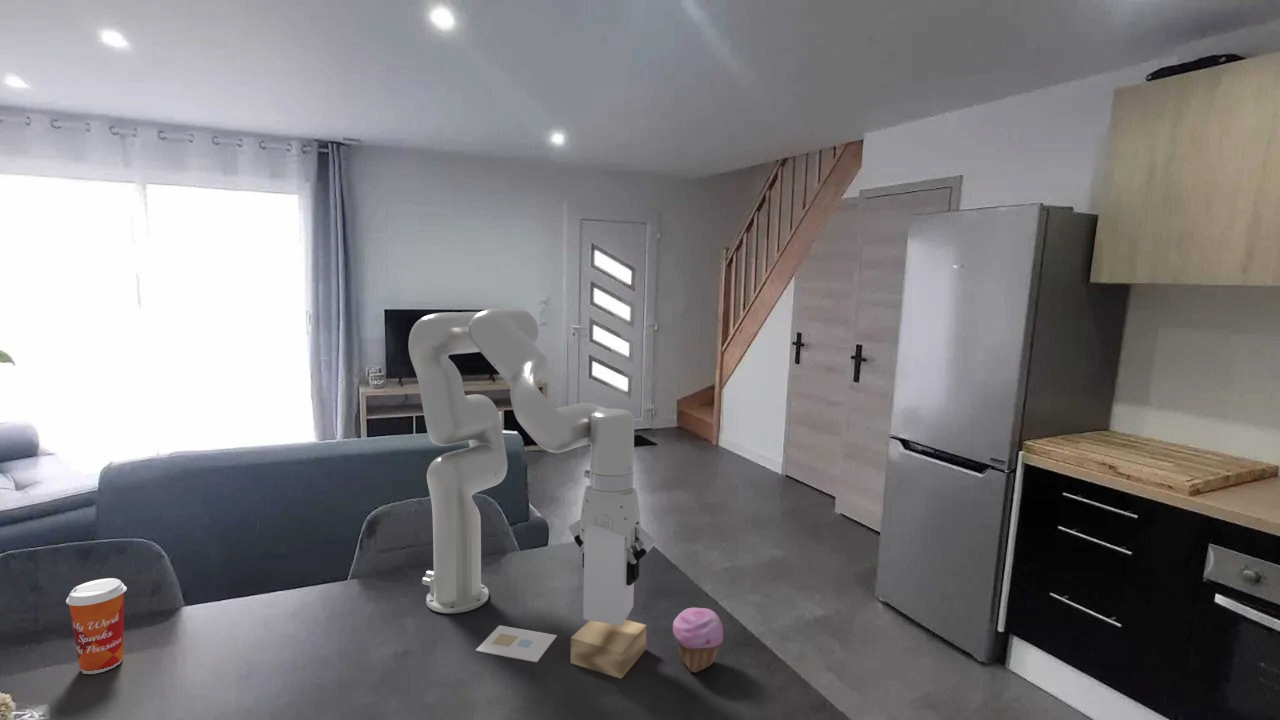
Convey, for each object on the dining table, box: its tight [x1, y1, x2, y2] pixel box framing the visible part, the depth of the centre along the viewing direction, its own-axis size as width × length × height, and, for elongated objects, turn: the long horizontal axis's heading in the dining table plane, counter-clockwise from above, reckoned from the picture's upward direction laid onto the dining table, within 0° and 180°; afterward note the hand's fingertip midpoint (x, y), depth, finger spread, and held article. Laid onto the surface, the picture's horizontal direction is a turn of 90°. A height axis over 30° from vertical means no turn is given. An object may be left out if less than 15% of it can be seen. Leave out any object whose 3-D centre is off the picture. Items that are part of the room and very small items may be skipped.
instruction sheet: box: [475, 624, 558, 663], centre depth 119 cm, size 12×9×1 cm
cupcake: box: [672, 607, 724, 673], centre depth 113 cm, size 9×9×10 cm
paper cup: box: [65, 577, 128, 671], centre depth 109 cm, size 8×8×14 cm
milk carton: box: [582, 523, 635, 625], centre depth 113 cm, size 7×7×19 cm
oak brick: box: [570, 619, 647, 679], centre depth 115 cm, size 10×10×5 cm
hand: (610, 576), depth 114 cm, fingers closed on milk carton, 7 cm apart
